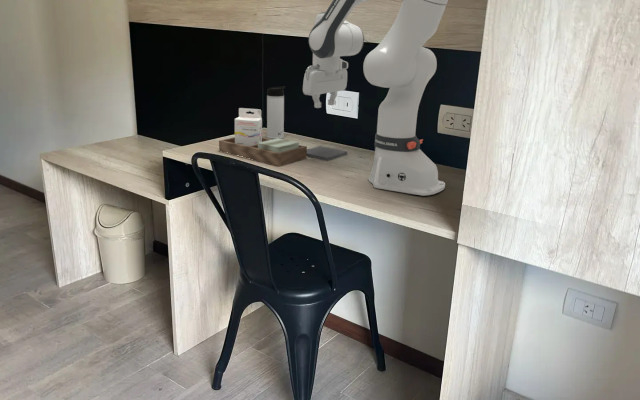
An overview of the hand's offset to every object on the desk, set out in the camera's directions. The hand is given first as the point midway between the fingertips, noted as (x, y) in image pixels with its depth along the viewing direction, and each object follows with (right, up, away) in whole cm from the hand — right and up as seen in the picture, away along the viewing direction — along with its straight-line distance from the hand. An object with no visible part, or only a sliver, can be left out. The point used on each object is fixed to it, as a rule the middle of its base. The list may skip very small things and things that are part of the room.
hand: (324, 106), depth 187 cm
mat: (0, -16, +5) cm, 17 cm away
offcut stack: (-15, -18, -3) cm, 24 cm away
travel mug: (-18, -9, +25) cm, 32 cm away
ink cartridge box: (-26, -15, +6) cm, 31 cm away
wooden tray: (-21, -16, +2) cm, 27 cm away
